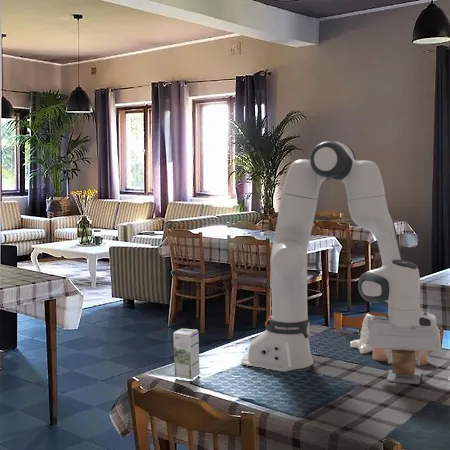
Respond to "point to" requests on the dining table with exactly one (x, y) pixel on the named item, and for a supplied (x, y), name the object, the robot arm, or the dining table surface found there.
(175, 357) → the syrup box
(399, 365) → the walnut cube
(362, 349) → the seated beast figurine
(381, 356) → the rounded tan cylinder
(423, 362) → the peach rounded cylinder
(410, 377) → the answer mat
